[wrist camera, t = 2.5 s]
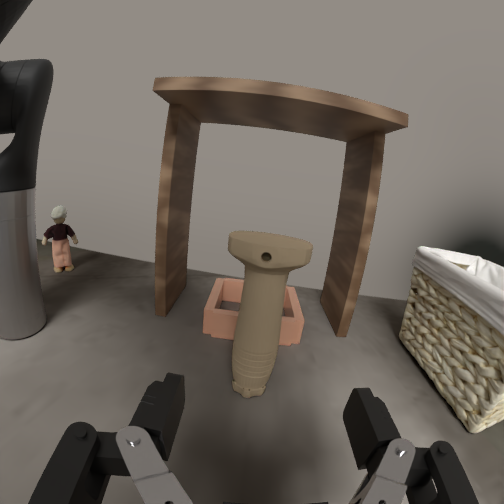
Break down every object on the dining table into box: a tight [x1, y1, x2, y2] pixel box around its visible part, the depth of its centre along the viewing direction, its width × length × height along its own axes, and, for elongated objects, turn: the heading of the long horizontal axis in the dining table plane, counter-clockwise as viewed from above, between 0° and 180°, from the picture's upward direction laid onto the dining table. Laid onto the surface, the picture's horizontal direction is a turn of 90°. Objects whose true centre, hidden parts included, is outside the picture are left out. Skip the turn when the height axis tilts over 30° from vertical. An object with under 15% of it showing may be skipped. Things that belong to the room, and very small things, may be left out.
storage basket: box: [399, 246, 504, 433], centre depth 24 cm, size 24×16×15 cm
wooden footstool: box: [153, 77, 408, 337], centre depth 36 cm, size 27×18×30 cm, turn 88°
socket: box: [203, 278, 304, 346], centre depth 39 cm, size 12×12×4 cm
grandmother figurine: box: [42, 205, 78, 272], centre depth 43 cm, size 8×4×13 cm, turn 140°
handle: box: [228, 231, 313, 398], centre depth 23 cm, size 5×6×15 cm
